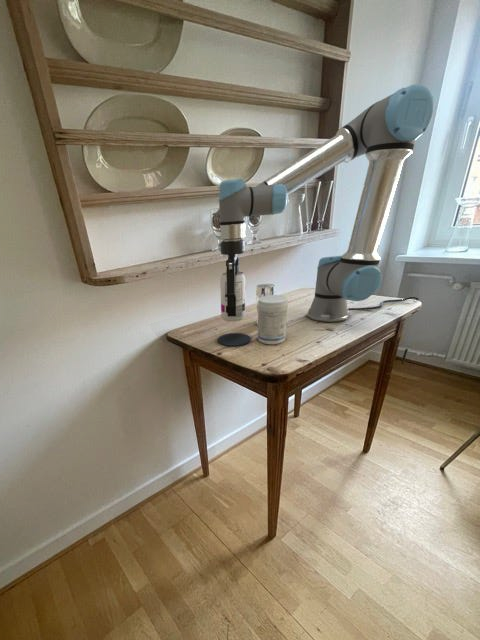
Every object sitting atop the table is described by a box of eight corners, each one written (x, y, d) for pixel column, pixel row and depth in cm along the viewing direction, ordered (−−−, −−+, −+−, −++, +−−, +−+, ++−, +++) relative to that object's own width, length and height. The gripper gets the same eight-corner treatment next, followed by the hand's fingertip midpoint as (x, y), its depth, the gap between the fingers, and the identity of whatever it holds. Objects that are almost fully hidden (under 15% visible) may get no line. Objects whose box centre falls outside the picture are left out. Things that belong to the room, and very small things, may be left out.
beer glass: (259, 320, 125) (260, 283, 118) (275, 321, 122) (277, 284, 114) (252, 325, 121) (253, 287, 113) (268, 327, 117) (270, 288, 109)
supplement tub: (259, 334, 111) (260, 294, 104) (285, 335, 108) (288, 294, 101) (255, 344, 103) (256, 302, 96) (284, 346, 100) (287, 302, 93)
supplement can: (216, 319, 105) (214, 275, 98) (231, 313, 110) (230, 270, 102) (234, 323, 100) (234, 276, 92) (249, 317, 104) (250, 272, 97)
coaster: (239, 331, 115) (240, 330, 115) (257, 341, 106) (257, 340, 105) (212, 338, 112) (212, 337, 112) (227, 349, 102) (227, 348, 102)
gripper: (224, 237, 102) (225, 304, 113) (215, 244, 84) (218, 322, 96) (246, 236, 100) (246, 303, 112) (242, 242, 83) (241, 321, 94)
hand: (233, 312), depth 104 cm, fingers closed on supplement can, 8 cm apart
